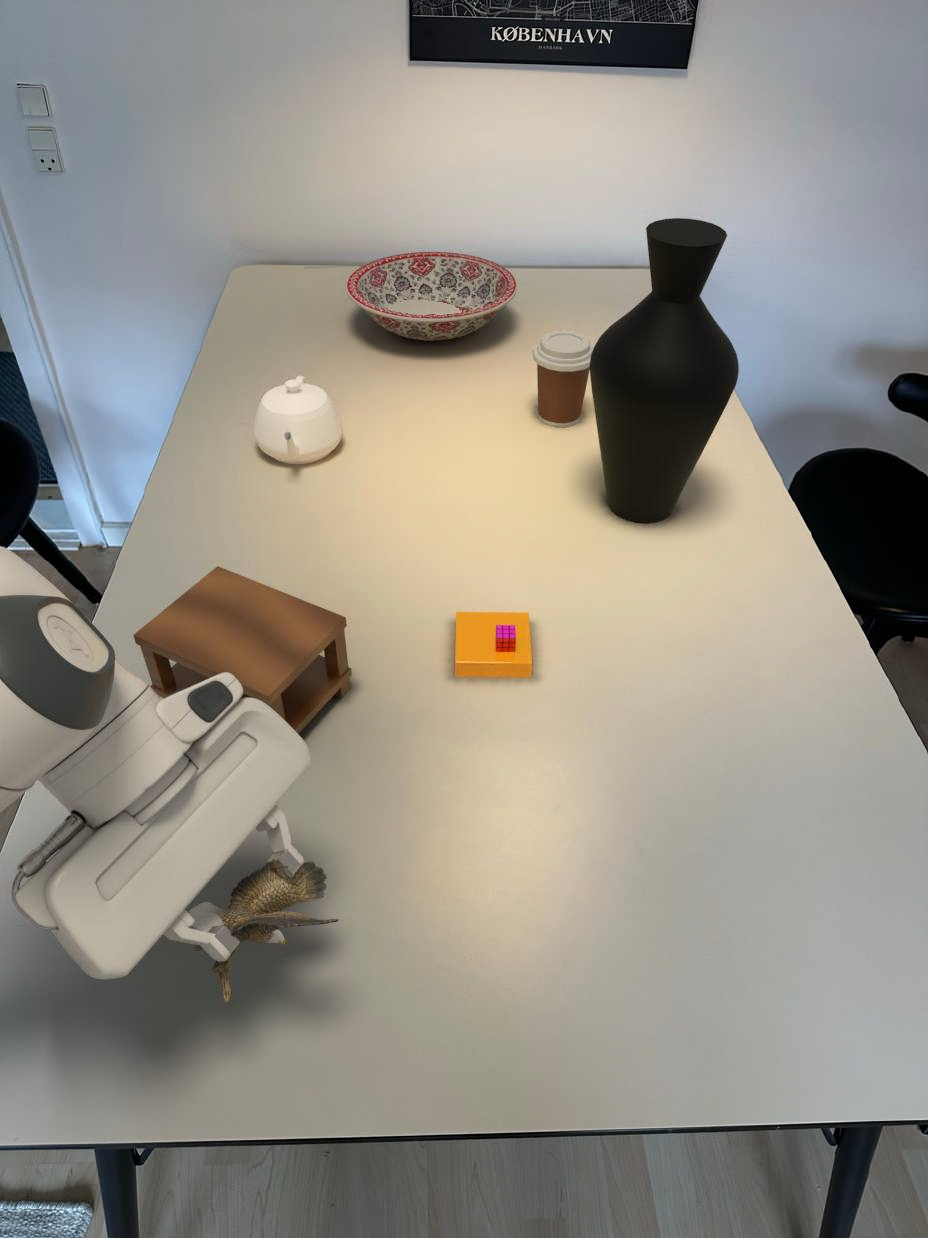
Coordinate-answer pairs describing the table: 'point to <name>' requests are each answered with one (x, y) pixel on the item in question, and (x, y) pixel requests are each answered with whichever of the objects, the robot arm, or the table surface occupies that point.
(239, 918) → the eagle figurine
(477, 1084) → the table surface
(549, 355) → the coffee cup
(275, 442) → the teapot
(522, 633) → the orange block
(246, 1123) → the table surface
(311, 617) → the shelf
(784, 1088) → the table surface
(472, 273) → the ceramic bowl
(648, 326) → the vase
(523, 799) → the table surface
